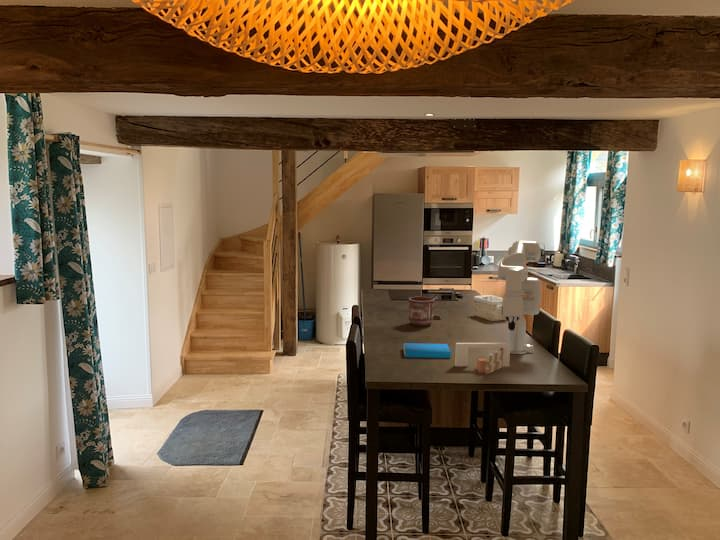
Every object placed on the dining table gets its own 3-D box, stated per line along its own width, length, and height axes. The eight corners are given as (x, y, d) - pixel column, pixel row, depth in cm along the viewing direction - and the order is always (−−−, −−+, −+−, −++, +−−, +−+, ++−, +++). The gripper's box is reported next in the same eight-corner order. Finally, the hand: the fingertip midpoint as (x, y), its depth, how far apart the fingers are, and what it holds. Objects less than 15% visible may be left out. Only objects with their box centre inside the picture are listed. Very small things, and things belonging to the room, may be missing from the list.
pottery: (435, 328, 383) (436, 301, 381) (408, 327, 384) (409, 300, 381) (432, 322, 401) (433, 296, 399) (407, 321, 401) (407, 296, 399)
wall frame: (508, 365, 303) (509, 342, 301) (509, 366, 301) (510, 343, 299) (455, 365, 302) (455, 342, 300) (455, 366, 300) (456, 343, 298)
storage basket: (472, 315, 425) (472, 295, 423) (490, 313, 431) (491, 294, 429) (491, 322, 403) (492, 301, 401) (510, 320, 409) (511, 299, 407)
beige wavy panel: (500, 366, 301) (501, 348, 299) (503, 366, 300) (503, 348, 298) (485, 374, 287) (485, 355, 286) (488, 374, 286) (488, 356, 285)
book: (403, 343, 331) (447, 343, 331) (403, 350, 332) (446, 350, 331) (405, 351, 314) (451, 351, 314) (405, 359, 315) (451, 359, 314)
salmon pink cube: (486, 368, 296) (486, 357, 296) (489, 372, 290) (489, 360, 290) (476, 368, 296) (476, 357, 295) (479, 372, 290) (479, 360, 290)
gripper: (525, 292, 288) (523, 328, 291) (496, 292, 287) (494, 328, 290) (530, 294, 281) (528, 331, 283) (500, 294, 280) (498, 331, 283)
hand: (511, 329), depth 287 cm, fingers closed
